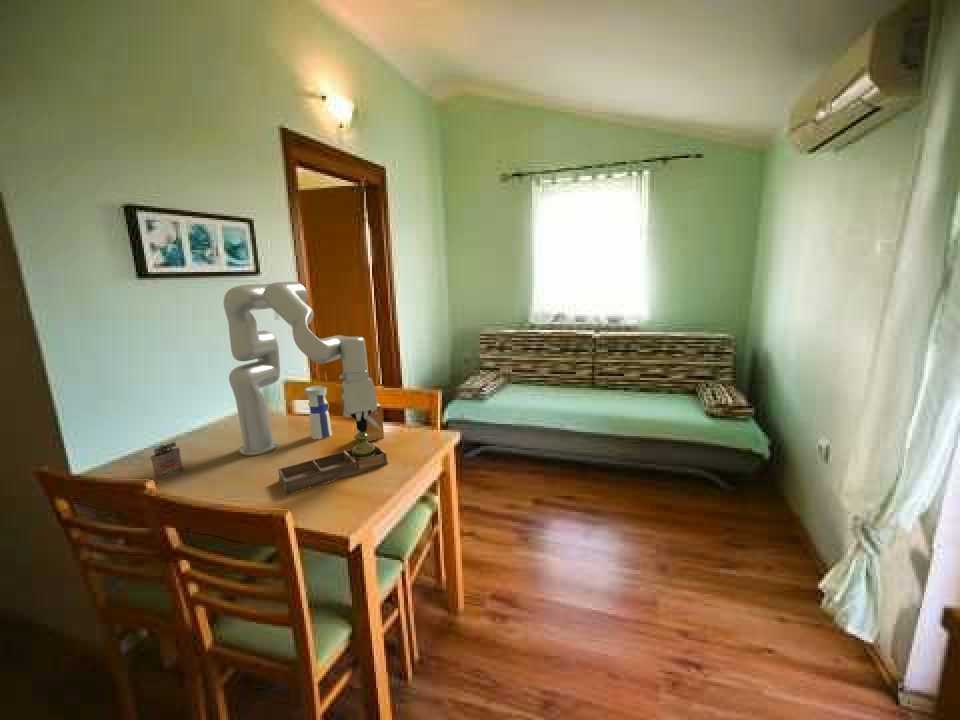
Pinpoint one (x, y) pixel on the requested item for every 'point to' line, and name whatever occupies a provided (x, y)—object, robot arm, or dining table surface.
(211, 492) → the dining table surface
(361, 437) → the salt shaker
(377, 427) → the small box
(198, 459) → the dining table surface
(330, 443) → the dining table surface
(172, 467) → the lighter
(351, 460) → the wooden compartment tray
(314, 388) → the water bottle
